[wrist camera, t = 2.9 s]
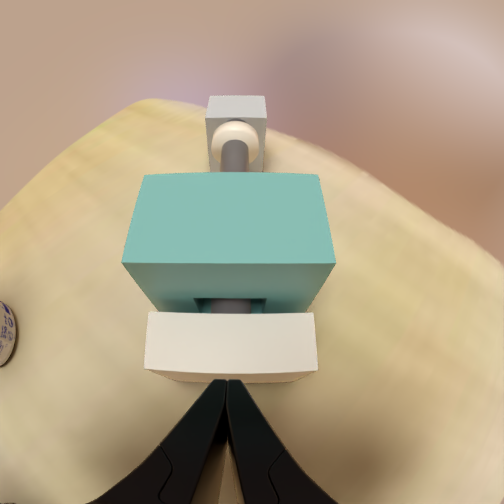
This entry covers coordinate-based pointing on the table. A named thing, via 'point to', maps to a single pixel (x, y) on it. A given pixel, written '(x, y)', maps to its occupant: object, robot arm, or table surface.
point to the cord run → (232, 309)
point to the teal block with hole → (230, 240)
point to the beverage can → (6, 332)
